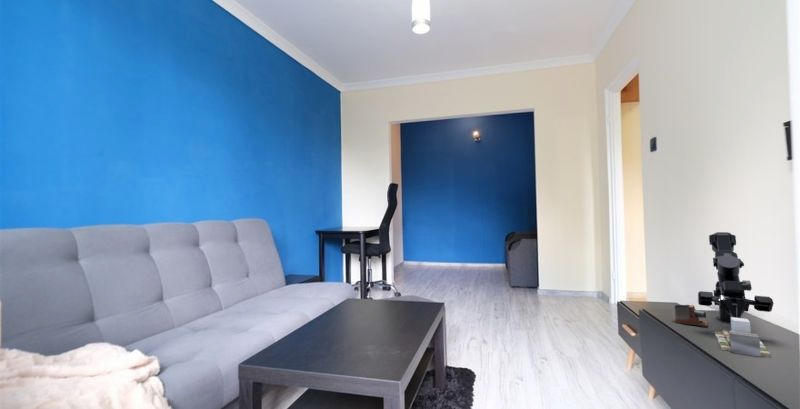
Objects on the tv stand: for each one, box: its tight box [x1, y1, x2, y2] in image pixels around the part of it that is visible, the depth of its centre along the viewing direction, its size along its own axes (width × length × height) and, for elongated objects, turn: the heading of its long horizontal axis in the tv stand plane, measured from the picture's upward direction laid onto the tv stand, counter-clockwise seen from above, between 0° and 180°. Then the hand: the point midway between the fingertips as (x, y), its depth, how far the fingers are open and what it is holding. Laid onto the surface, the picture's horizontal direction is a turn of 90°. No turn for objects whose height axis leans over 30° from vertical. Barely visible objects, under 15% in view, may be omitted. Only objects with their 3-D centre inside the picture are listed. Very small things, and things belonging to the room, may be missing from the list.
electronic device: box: [674, 304, 708, 328], centre depth 133 cm, size 4×10×8 cm, turn 44°
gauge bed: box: [714, 328, 772, 358], centre depth 112 cm, size 17×11×6 cm, turn 142°
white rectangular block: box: [718, 317, 752, 339], centre depth 111 cm, size 4×8×8 cm, turn 52°
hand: (737, 322), depth 114 cm, fingers closed
